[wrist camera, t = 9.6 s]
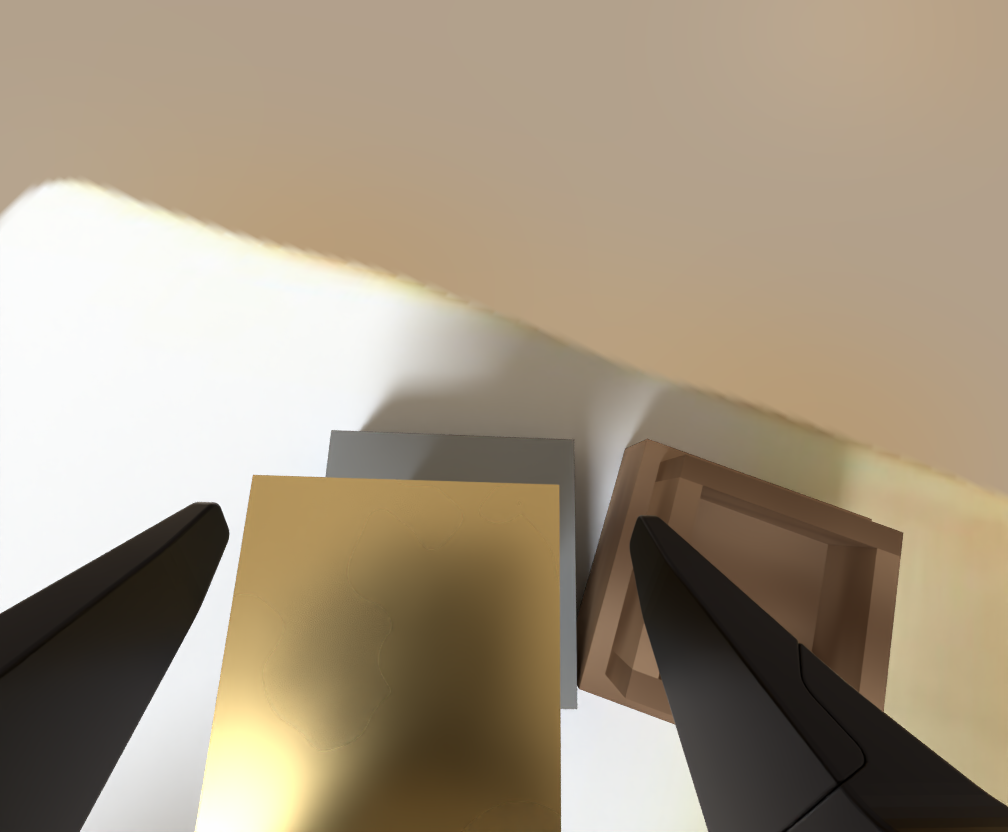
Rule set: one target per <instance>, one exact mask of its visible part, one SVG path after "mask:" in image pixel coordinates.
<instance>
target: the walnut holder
mask: <svg viewBox="0 0 1008 832" xmlns="http://www.w3.org/2000/svg"><path fill="white" fill-rule="evenodd" d="M640 515H655V516H658V517H660V518H661V519H662V520H663V521H664V522H665V523H667V524H668V525H669V526H670V527H671V528H672V529H673V530H674V531H676V532H677V533H678V534H679V535H680V536H681V537H682V538H683V539H685V540H686V541H687V542H688V543H689V544H690V545H691V546H692V547H694V548H695V549H696V550H697V551H698V552H699V553H700V554H702V555H703V556H704V557H705V558H706V559H707V560H708V561H709V562H711V563H712V564H713V565H714V566H715V567H716V568H717V569H718V570H720V571H721V572H722V573H723V574H724V575H725V576H726V577H727V578H729V579H730V580H731V581H732V582H733V583H734V584H735V585H736V586H738V587H739V588H740V589H741V590H742V591H743V592H744V593H746V594H747V595H748V596H749V597H750V598H751V599H752V600H753V601H755V602H756V603H757V604H758V605H759V606H760V607H761V608H762V609H764V610H765V611H766V612H767V613H768V614H769V615H770V616H771V617H773V618H774V619H775V620H776V621H777V622H778V623H779V624H781V625H782V626H783V627H784V628H785V629H786V630H787V631H788V632H790V633H791V634H792V635H793V636H794V637H795V638H796V639H797V640H798V643H802V644H803V645H804V646H806V647H807V648H808V649H809V650H810V651H811V652H812V653H813V654H815V655H816V656H817V657H818V658H819V659H820V660H821V661H823V662H824V663H825V664H826V665H827V666H828V667H830V668H831V669H832V670H833V671H834V672H835V673H837V674H838V675H839V676H840V677H841V678H842V679H844V680H845V681H846V682H847V683H848V684H849V685H851V686H852V687H853V688H854V689H855V690H857V691H858V692H859V693H860V694H862V695H863V696H864V697H865V698H867V699H868V700H869V701H870V702H872V703H873V704H874V705H875V706H877V707H878V708H879V709H880V710H882V711H884V702H885V693H886V684H887V675H888V666H889V657H890V648H891V639H892V630H893V621H894V612H895V603H896V594H897V585H898V576H899V567H900V558H901V549H902V540H903V532H900V531H897V530H894V529H892V528H889V527H886V526H883V525H881V524H878V523H875V522H872V519H870V518H867V517H864V516H861V515H858V514H856V513H853V512H850V511H847V510H845V509H842V508H839V507H836V506H833V505H831V504H828V503H825V502H822V501H819V500H817V499H814V498H811V497H808V496H806V495H803V494H800V493H797V492H794V491H792V490H789V489H786V488H783V487H780V486H778V485H775V484H772V483H769V482H767V481H764V480H761V479H758V478H755V477H753V476H750V475H747V474H744V473H741V472H739V471H736V470H733V469H730V468H727V467H725V466H722V465H719V464H716V463H714V462H711V461H708V460H705V459H702V458H700V457H697V456H694V455H691V454H688V453H686V452H683V451H680V450H677V449H675V448H672V447H669V446H666V445H663V444H661V443H658V442H655V441H652V440H649V439H646V440H644V441H642V442H639V443H637V444H635V445H633V446H631V447H629V448H626V449H625V451H624V455H623V459H622V462H621V466H620V469H619V473H618V476H617V480H616V483H615V487H614V490H613V494H612V497H611V501H610V504H609V508H608V511H607V515H606V518H605V522H604V525H603V529H602V532H601V536H600V539H599V543H598V547H597V550H596V554H595V557H594V561H593V564H592V568H591V571H590V575H589V578H588V582H587V585H586V589H585V592H584V596H583V599H582V603H581V606H580V610H579V613H578V617H577V620H576V651H577V686H578V688H579V689H581V690H583V691H586V692H589V693H592V694H594V695H597V696H600V697H602V698H605V699H608V700H610V701H613V702H616V703H619V704H621V705H624V706H627V707H629V708H632V709H635V710H637V711H640V712H643V713H646V714H648V715H651V716H654V717H656V718H659V719H662V720H664V721H667V722H670V723H673V724H675V722H674V718H673V715H672V712H671V709H670V705H669V702H668V699H667V696H666V692H665V689H664V686H663V683H662V679H661V676H660V673H659V670H658V666H657V663H656V660H655V657H654V653H653V650H652V647H651V643H650V640H649V637H648V634H647V630H646V627H645V624H644V620H643V616H642V612H641V607H640V602H639V597H638V592H637V586H636V581H635V576H634V571H633V565H632V560H631V555H630V548H629V544H630V539H631V536H632V532H633V529H634V526H635V523H636V520H637V518H638V517H639V516H640Z"/></svg>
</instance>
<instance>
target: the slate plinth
mask: <svg viewBox="0 0 1008 832" xmlns="http://www.w3.org/2000/svg"><path fill="white" fill-rule="evenodd" d="M326 477H332V478H364V479H396V480H427V481H459V482H491V483H522V484H554V485H559V508H560V709H577V651H576V562H575V474H574V440H567V439H541V438H516V437H490V436H465V435H439V434H414V433H388V432H363V431H337V430H331V437H330V445H329V453H328V461H327V469H326Z"/></svg>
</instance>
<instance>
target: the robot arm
mask: <svg viewBox="0 0 1008 832" xmlns="http://www.w3.org/2000/svg"><path fill="white" fill-rule="evenodd" d="M228 540H229V528H228V526H227V523H226V520H225V518H224V515H223V512H222V510H221V507H220V506H219V505H218V504H217V503H214V502H196V503H193V504H191V505H189V506H187V507H186V508H184V509H182V510H180V511H179V512H177V513H175V514H173V515H172V516H170V517H168V518H166V519H165V520H163V521H161V522H159V523H158V524H156V525H154V526H152V527H151V528H149V529H147V530H145V531H144V532H142V533H140V534H139V535H137V536H135V537H133V538H132V539H130V540H128V541H126V542H125V543H123V544H121V545H119V546H118V547H116V548H114V549H112V550H111V551H109V552H107V553H105V554H104V555H102V556H100V557H98V558H97V559H95V560H93V561H91V562H90V563H88V564H86V565H84V566H83V567H81V568H79V569H77V570H76V571H74V572H72V573H70V574H69V575H67V576H65V577H63V578H62V579H60V580H58V581H56V582H55V583H53V584H51V585H49V586H48V587H46V588H44V589H42V590H41V591H39V592H37V593H35V594H34V595H32V596H30V597H28V598H27V599H25V600H23V601H21V602H20V603H18V604H16V605H15V606H13V607H11V608H9V609H8V610H6V611H4V612H2V613H1V614H0V832H80V830H81V828H82V827H83V825H84V823H85V821H86V819H87V817H88V816H89V814H90V812H91V810H92V808H93V806H94V804H95V803H96V801H97V799H98V797H99V795H100V793H101V791H102V790H103V788H104V786H105V784H106V782H107V780H108V778H109V777H110V775H111V773H112V771H113V769H114V767H115V766H116V764H117V762H118V760H119V758H120V756H121V754H122V753H123V751H124V749H125V747H126V745H127V743H128V741H129V740H130V738H131V736H132V734H133V732H134V730H135V729H136V727H137V725H138V723H139V721H140V719H141V717H142V716H143V714H144V712H145V710H146V708H147V706H148V704H149V703H150V701H151V699H152V697H153V695H154V693H155V692H156V690H157V688H158V686H159V684H160V682H161V680H162V679H163V677H164V675H165V673H166V671H167V669H168V667H169V666H170V664H171V662H172V660H173V658H174V656H175V655H176V653H177V651H178V649H179V647H180V645H181V643H182V642H183V640H184V638H185V636H186V634H187V632H188V630H189V629H190V627H191V625H192V623H193V621H194V619H195V617H196V615H197V613H198V611H199V609H200V607H201V605H202V603H203V601H204V598H205V596H206V594H207V591H208V589H209V586H210V584H211V581H212V579H213V577H214V574H215V572H216V569H217V567H218V565H219V562H220V560H221V557H222V555H223V552H224V550H225V548H226V545H227V543H228ZM629 548H630V555H631V560H632V565H633V571H634V576H635V581H636V586H637V592H638V597H639V602H640V607H641V612H642V616H643V620H644V624H645V627H646V630H647V634H648V637H649V640H650V643H651V647H652V650H653V653H654V657H655V660H656V663H657V666H658V670H659V673H660V676H661V679H662V683H663V686H664V689H665V692H666V696H667V699H668V702H669V705H670V709H671V712H672V715H673V718H674V722H675V725H676V728H677V731H678V735H679V738H680V741H681V744H682V748H683V751H684V754H685V757H686V761H687V764H688V767H689V770H690V774H691V777H692V780H693V783H694V787H695V790H696V793H697V796H698V800H699V803H700V806H701V809H702V813H703V816H704V819H705V822H706V826H707V829H708V832H1008V807H1007V806H1006V805H1004V804H1003V803H1001V802H1000V801H998V800H997V799H995V798H994V797H992V796H991V795H989V794H988V793H987V792H985V791H984V790H983V789H981V788H980V787H979V786H977V785H976V784H975V783H973V782H972V781H971V780H969V779H968V778H967V777H966V776H964V775H963V774H962V773H960V772H959V771H958V770H957V769H955V768H954V767H953V766H952V765H950V764H949V763H948V762H946V761H945V760H944V759H943V758H941V757H940V756H939V755H937V754H936V753H935V752H934V751H932V750H931V749H930V748H929V747H927V746H926V745H925V744H923V743H922V742H921V741H920V740H918V739H917V738H916V737H915V736H913V735H912V734H911V733H909V732H908V731H907V730H906V729H904V728H903V727H902V726H901V725H899V724H898V723H897V722H895V721H894V720H893V719H892V718H890V717H889V716H888V715H887V714H885V713H884V712H883V711H882V710H880V709H879V708H878V707H877V706H875V705H874V704H873V703H872V702H870V701H869V700H868V699H867V698H865V697H864V696H863V695H862V694H860V693H859V692H858V691H857V690H855V689H854V688H853V687H852V686H851V685H849V684H848V683H847V682H846V681H845V680H844V679H842V678H841V677H840V676H839V675H838V674H837V673H835V672H834V671H833V670H832V669H831V668H830V667H828V666H827V665H826V664H825V663H824V662H823V661H821V660H820V659H819V658H818V657H817V656H816V655H815V654H813V653H812V652H811V651H810V650H809V649H808V648H807V647H806V646H804V645H803V644H802V643H798V640H797V639H796V638H795V637H794V636H793V635H792V634H791V633H790V632H788V631H787V630H786V629H785V628H784V627H783V626H782V625H781V624H779V623H778V622H777V621H776V620H775V619H774V618H773V617H771V616H770V615H769V614H768V613H767V612H766V611H765V610H764V609H762V608H761V607H760V606H759V605H758V604H757V603H756V602H755V601H753V600H752V599H751V598H750V597H749V596H748V595H747V594H746V593H744V592H743V591H742V590H741V589H740V588H739V587H738V586H736V585H735V584H734V583H733V582H732V581H731V580H730V579H729V578H727V577H726V576H725V575H724V574H723V573H722V572H721V571H720V570H718V569H717V568H716V567H715V566H714V565H713V564H712V563H711V562H709V561H708V560H707V559H706V558H705V557H704V556H703V555H702V554H700V553H699V552H698V551H697V550H696V549H695V548H694V547H692V546H691V545H690V544H689V543H688V542H687V541H686V540H685V539H683V538H682V537H681V536H680V535H679V534H678V533H677V532H676V531H674V530H673V529H672V528H671V527H670V526H669V525H668V524H667V523H665V522H664V521H663V520H662V519H661V518H660V517H658V516H655V515H640V516H639V517H638V518H637V520H636V523H635V526H634V529H633V532H632V536H631V539H630V544H629Z"/></svg>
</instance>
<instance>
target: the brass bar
mask: <svg viewBox="0 0 1008 832" xmlns="http://www.w3.org/2000/svg"><path fill="white" fill-rule="evenodd" d="M195 832H561V737H560V508H559V485H554V484H522V483H491V482H459V481H427V480H396V479H364V478H332V477H300V476H269V475H253V478H252V484H251V490H250V496H249V503H248V509H247V515H246V521H245V527H244V533H243V540H242V546H241V552H240V558H239V564H238V570H237V577H236V583H235V589H234V595H233V601H232V607H231V613H230V620H229V626H228V632H227V638H226V644H225V650H224V657H223V663H222V669H221V675H220V681H219V687H218V694H217V700H216V706H215V712H214V718H213V724H212V731H211V737H210V743H209V749H208V755H207V761H206V768H205V774H204V780H203V786H202V792H201V798H200V804H199V811H198V817H197V823H196V829H195Z"/></svg>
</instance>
